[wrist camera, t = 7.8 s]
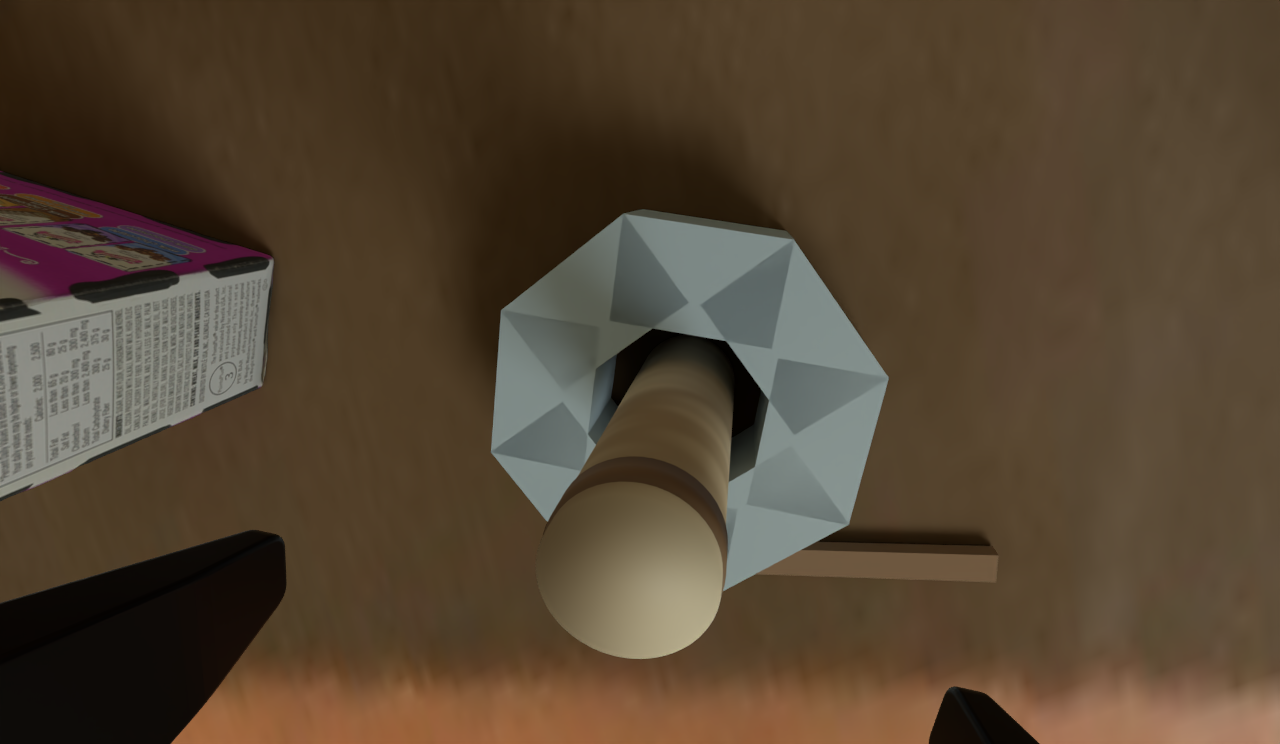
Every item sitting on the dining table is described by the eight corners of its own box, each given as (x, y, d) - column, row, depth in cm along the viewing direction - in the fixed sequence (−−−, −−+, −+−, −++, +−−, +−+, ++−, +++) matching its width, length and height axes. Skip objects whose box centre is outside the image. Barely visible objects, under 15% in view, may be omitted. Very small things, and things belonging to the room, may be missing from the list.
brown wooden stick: (992, 545, 19) (998, 555, 18) (989, 572, 19) (996, 582, 18) (600, 536, 21) (596, 544, 20) (602, 560, 21) (599, 569, 20)
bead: (892, 246, 17) (921, 258, 14) (812, 553, 20) (824, 615, 17) (546, 194, 18) (508, 195, 15) (520, 492, 21) (484, 540, 18)
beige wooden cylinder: (744, 343, 18) (742, 514, 9) (726, 434, 19) (706, 680, 10) (647, 325, 18) (541, 472, 9) (633, 416, 19) (524, 637, 10)
